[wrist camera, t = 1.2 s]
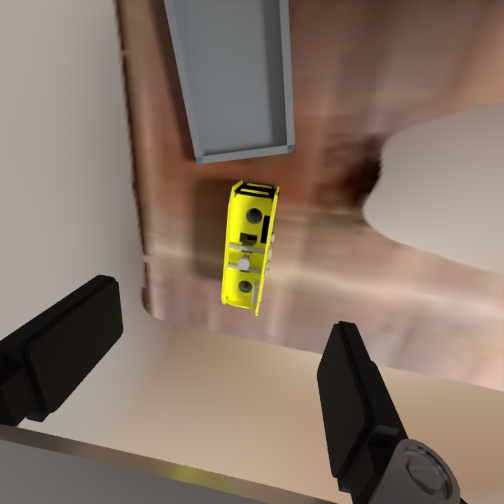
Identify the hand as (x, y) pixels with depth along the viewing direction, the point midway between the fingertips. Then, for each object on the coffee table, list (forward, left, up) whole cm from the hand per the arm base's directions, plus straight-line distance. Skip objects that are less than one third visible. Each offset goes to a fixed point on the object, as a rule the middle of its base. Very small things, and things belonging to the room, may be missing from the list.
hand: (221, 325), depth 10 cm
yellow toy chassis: (+3, +5, -24) cm, 25 cm away
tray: (+2, -17, -24) cm, 29 cm away
